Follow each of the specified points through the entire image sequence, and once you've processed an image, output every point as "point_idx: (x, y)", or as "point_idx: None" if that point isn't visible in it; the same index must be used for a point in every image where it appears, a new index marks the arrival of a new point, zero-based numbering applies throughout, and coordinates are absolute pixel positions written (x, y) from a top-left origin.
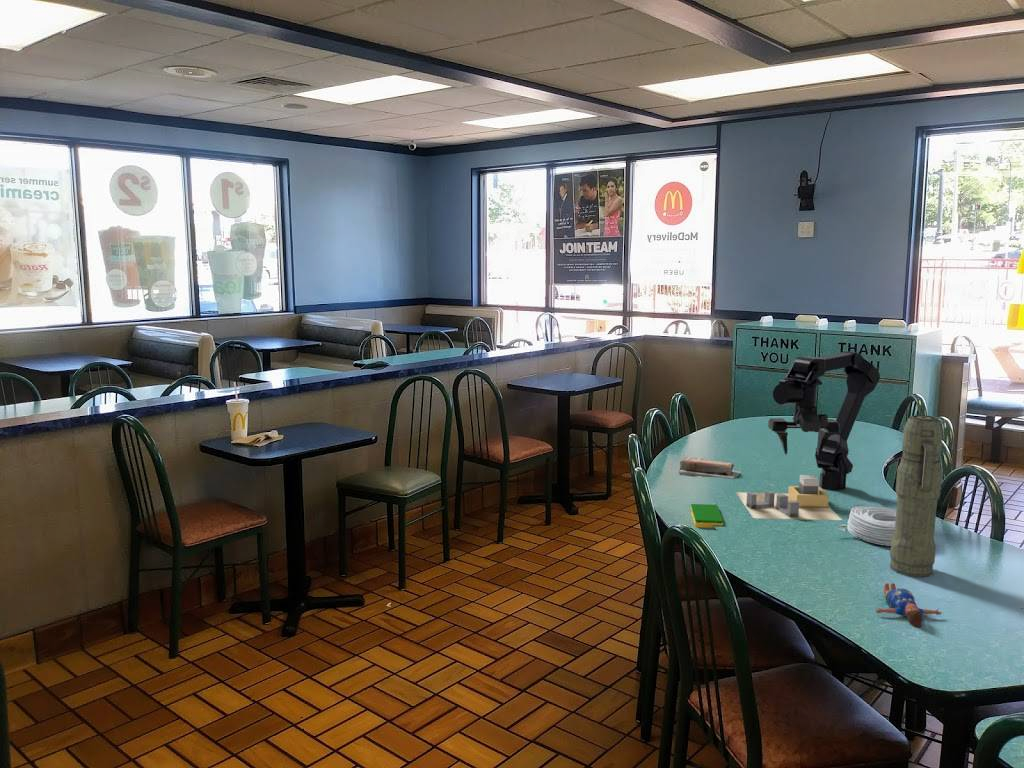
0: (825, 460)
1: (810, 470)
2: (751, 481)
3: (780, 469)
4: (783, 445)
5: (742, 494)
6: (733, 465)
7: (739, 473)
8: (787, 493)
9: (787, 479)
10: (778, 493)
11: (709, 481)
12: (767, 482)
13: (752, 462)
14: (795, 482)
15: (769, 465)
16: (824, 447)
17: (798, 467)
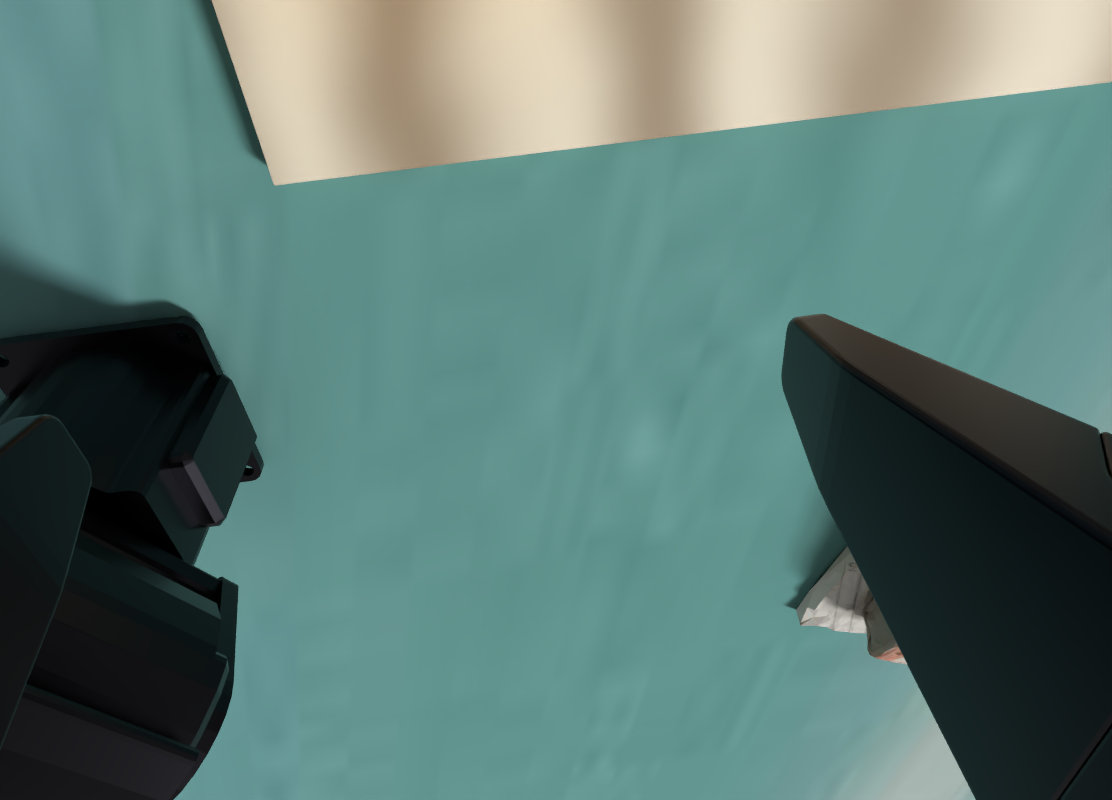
0: (71, 564)
1: (331, 739)
2: (776, 486)
3: (514, 720)
4: (1038, 421)
5: (1090, 6)
6: (886, 639)
7: (813, 600)
8: (578, 146)
9: (498, 573)
10: (675, 127)
11: (1099, 427)
12: (661, 487)
13: (651, 776)
14: (447, 526)
15: (566, 758)
16: (20, 780)
17: (401, 764)
